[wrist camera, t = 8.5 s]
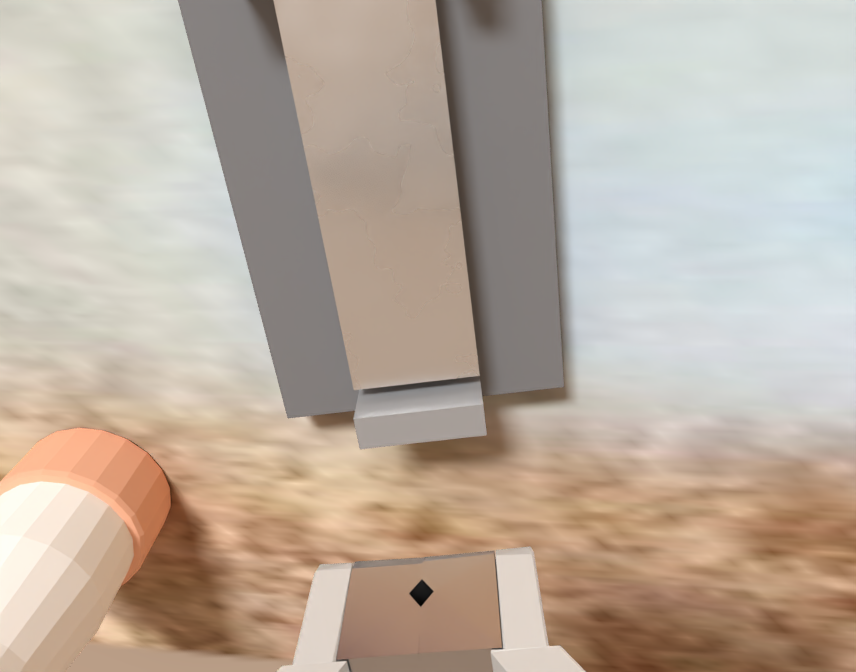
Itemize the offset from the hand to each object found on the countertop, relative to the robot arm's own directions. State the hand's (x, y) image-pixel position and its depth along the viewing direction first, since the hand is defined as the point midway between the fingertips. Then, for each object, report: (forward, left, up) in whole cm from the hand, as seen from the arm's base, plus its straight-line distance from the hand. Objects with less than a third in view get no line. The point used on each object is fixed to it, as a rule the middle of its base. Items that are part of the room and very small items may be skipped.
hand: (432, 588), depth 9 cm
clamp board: (+1, -3, -20) cm, 20 cm away
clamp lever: (+1, -3, -18) cm, 18 cm away
